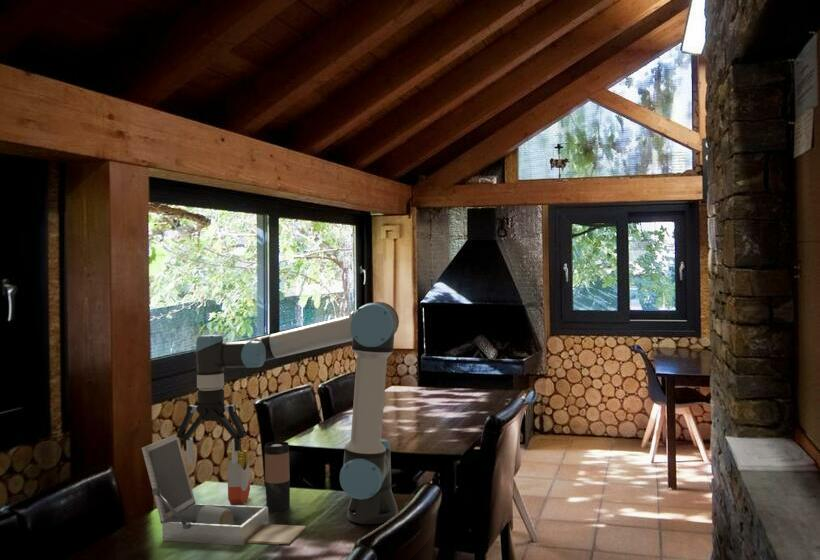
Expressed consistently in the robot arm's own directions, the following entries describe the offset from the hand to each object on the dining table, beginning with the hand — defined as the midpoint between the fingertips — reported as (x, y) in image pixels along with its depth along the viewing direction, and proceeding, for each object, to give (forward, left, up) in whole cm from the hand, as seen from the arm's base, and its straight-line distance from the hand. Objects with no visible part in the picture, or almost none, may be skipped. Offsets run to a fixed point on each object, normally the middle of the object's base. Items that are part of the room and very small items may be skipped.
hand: (212, 462), depth 200 cm
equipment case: (+1, +2, -20) cm, 20 cm away
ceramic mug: (-2, +1, -20) cm, 20 cm away
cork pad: (-20, +1, -20) cm, 28 cm away
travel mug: (-11, -22, -20) cm, 31 cm away
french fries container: (+4, -26, -20) cm, 33 cm away
